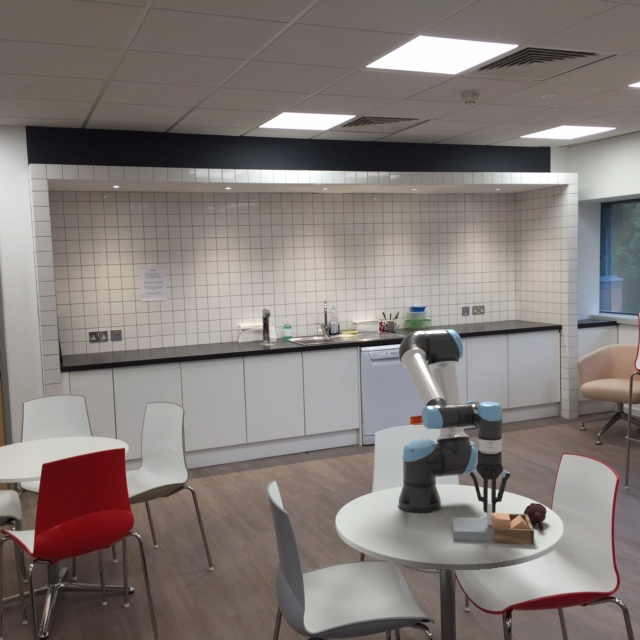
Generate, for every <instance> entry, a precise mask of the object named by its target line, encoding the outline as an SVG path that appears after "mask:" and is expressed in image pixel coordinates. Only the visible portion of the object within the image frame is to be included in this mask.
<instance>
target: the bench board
mask: <svg viewBox="0 0 640 640" xmlns="http://www.w3.org/2000/svg"><path fill="white" fill-rule="evenodd" d="M451 521H452V535H453V541H460V542H461V541H463V542H485V543H486V542H491V543H492V542H493V543H494V529H492V525H491V524H487V517H486V518H483V517H461V516H460V517H454V516H453V517H452V519H451Z"/></svg>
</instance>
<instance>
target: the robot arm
mask: <svg viewBox="0 0 640 640" xmlns="http://www.w3.org/2000/svg"><path fill="white" fill-rule="evenodd" d="M463 351H464V346H463V341H462V339H461V336H460V334H459V333H458V332H457V331H456V330H454V329H445V328H442V329H427V330H426V329H423V330H422V329H420V330H419V329H418V330H414V331H411V332H410V333H408V334H407V335H406V336H405V337H403V339H402V340H401V342H400V345H399V348H398V358H399V361H400V365H402V367H403V368H404V369H406V370H407V372H408V375H409V377H410V379H411V381H412V383H413V385H414V388H415V390H416V392H417V394H418V397H419V399H420V401H421V403H422V405H423V408H422V410H421V420H422V424H423V426H424V427H425V428H426V429H429V430H433V429H434V430H439V433H440V434H439V435H438V437H437V439H436V442H435V441H434V440H432V439H418V440H413V441H410V442H408V443H406V444H405V445H404V447H403V451H402V467H403V468H402V470H403V472H402V473H403V475H402V478H403V485H402V488H401V491H400V494H399V497H398V507H399V508H400V509H401V510H404V511H405V512H410V513H414V514H415V513H416V514H425V513H426V514H427V513H433V512H436V511H438V510H439V509H441V507H442V502H441V501H442V500H441V497H440V494H439V491H438V489H437V482H436V481H437V480H436V479H437V478H438V477H449V476H451V477H452V476H462V475H469V476H470V477H471V479H472V481H473V484H474V485H473V486H474V488H475V489H474V490H475V492H476V497H477V500H478V502H482V504H483V508H482V509H483V513H486V518H487V524H492V513H497V512H496V510H497V508H496V506H497V505H496V504H497V503H501V502H502V500H503V496H504V494H505V489H506V486H507V485H506V484H507V481H508V479H509V478H510V477H511V474H510V471H508V470H505V469H504V467H503V463H502V462H503V459H502V458H503V455H502V450H503V446H502V445H503V443H502V442H503V439H502V438H503V435H502V434H503V410H502V409H503V407H502V405H501V404H500V403H499V402H495V401H482V402H478V401H474V400H469V401H466V402H465V403H461V399H460V391H459V387H458V386H459V384H458V377H457V371H456V368H457V367H458V365H459V364H460V361H459V360H460V359H462V358H463V356H464V355H463V354H464V352H463ZM465 427H476V428H477V446H476V444H475V442H474V441H471V440H470V437H469V436H470V435H468V434H467V433H466V432H465ZM478 474H479V475H480V477H481V478H482V480H483V481H482V486H483V487H482V488H483V489H482V491H483V492H482V494H483V495H482V494H481V489H480V486H479V481H478V478H477V476H478ZM500 476H501V477H502V478H501V481H500V484H499V488H498V492H497V479H498V478H499V477H500ZM489 480H490V481H491V485H490V486H491V488H490V490H491V493H490V495H491V496H490V499H491V500H488V499H489V498H488V497H489V493H488V492H489V488H488V487H489V486H488V485H489Z"/></svg>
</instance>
